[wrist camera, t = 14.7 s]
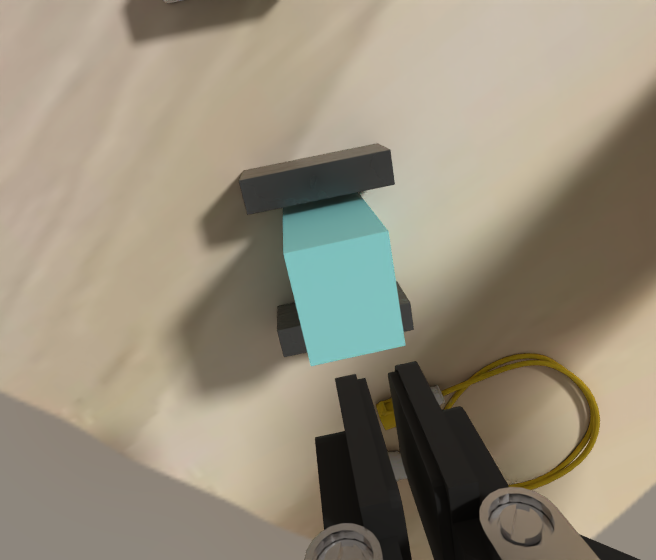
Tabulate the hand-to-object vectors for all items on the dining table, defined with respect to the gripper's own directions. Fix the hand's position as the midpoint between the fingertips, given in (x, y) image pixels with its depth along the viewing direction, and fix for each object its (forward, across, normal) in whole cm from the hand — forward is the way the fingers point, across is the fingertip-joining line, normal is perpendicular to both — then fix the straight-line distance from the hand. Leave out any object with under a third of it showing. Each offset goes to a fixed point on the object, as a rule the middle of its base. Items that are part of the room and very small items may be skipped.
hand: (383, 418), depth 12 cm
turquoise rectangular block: (+15, 0, 0) cm, 15 cm away
